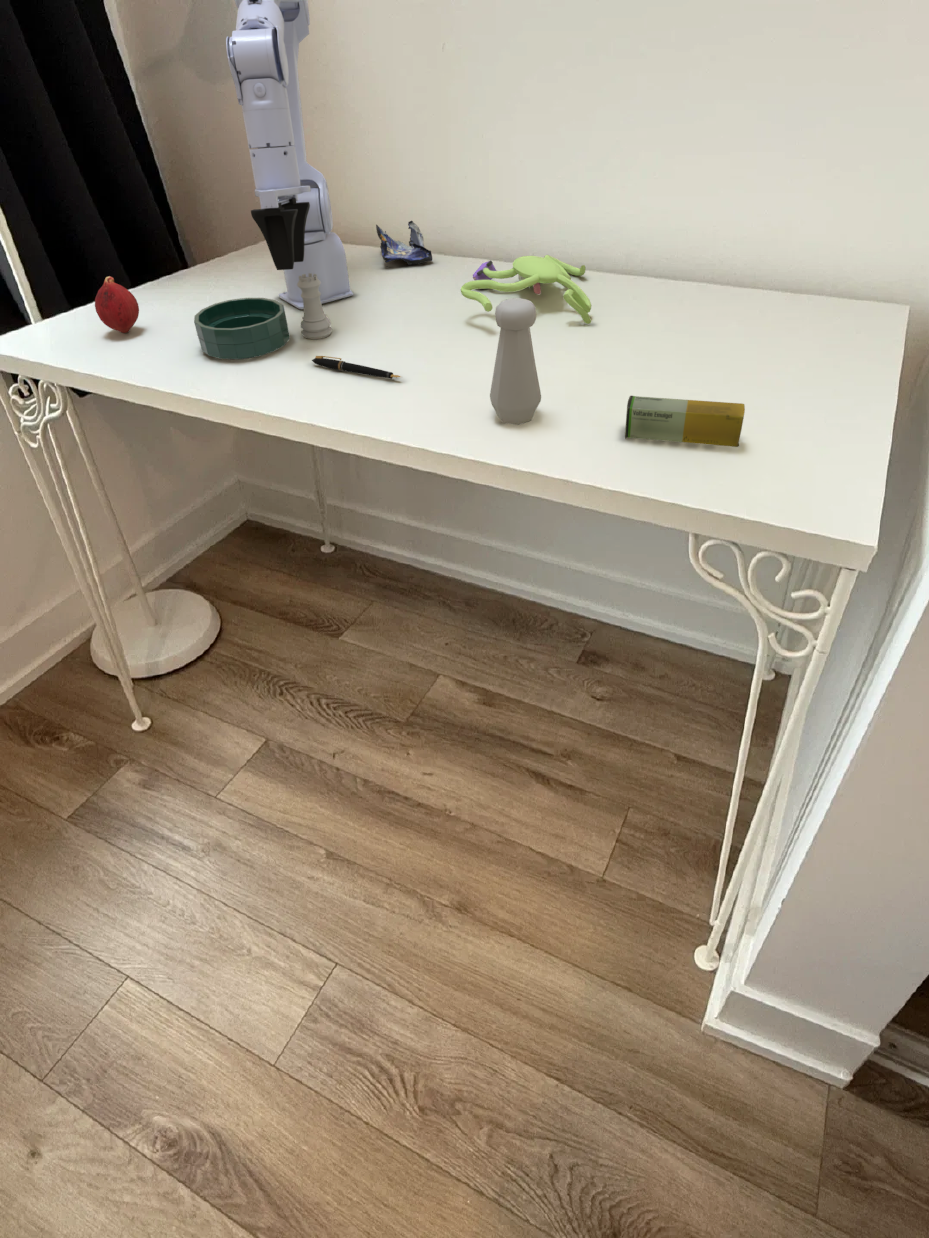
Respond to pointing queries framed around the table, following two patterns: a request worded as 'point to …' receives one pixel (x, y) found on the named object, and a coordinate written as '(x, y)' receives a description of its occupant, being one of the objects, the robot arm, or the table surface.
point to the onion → (116, 306)
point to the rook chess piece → (313, 309)
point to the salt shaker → (515, 363)
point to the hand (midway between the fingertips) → (290, 265)
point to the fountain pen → (351, 367)
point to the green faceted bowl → (242, 328)
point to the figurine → (530, 281)
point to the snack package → (404, 247)
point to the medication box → (684, 420)
